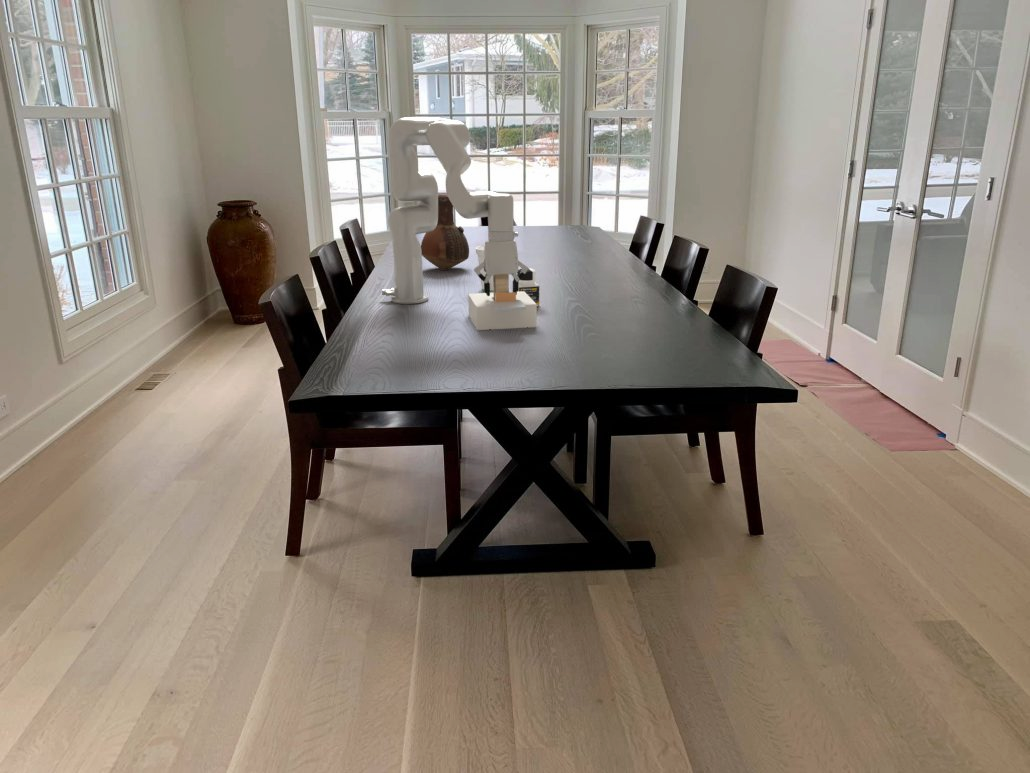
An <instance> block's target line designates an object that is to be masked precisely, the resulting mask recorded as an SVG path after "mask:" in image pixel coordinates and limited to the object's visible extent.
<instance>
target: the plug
mask: <svg viewBox="0 0 1030 773" xmlns="http://www.w3.org/2000/svg"><path fill="white" fill-rule="evenodd" d="M509 278H510V277H509V274H495V275H493V290H494V292H493V293H494V301H495V293H506V292H510V287H509V286H510V285H509V284H510V282H509V280H510V279H509Z"/></svg>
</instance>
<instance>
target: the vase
mask: <svg viewBox="0 0 1030 773" xmlns="http://www.w3.org/2000/svg"><path fill="white" fill-rule="evenodd" d="M464 232H465V230H464V228H463V227H462V226H461V225H459V226H456V225H455V219H454V207H453V205H452V203H451V202H450V200H449V198H448V196H447V194H438V223H437V226H436V228H435V229H434V230H433V231H431V232H427V233H424V236H423V237H422V240H421V243H420V245H421V250H422V258H423V259H425V260H426V261H428V262H429V263H431V264H432V265H433V266H435V267H437V268H438V269H439V270H442V271H448V270H449V269H452V268H453V267H455V266H458V265H460V264H461V263H463V262H465V261H467V259H469V256H470V246H469V242H468V239H467V237H466V235H465V234H464Z"/></svg>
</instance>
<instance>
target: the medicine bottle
mask: <svg viewBox="0 0 1030 773" xmlns="http://www.w3.org/2000/svg"><path fill="white" fill-rule="evenodd" d="M521 270H522V268H520V269H519V268H518V272H517V273H516V274H517V275H518V274H519V273H520V272H521ZM520 291H524V292H525V293H526V294H527V295H528V296H529V297H530V298H531V299H532V300H533V301H534V302H535V303H536V304H537V305H539V306H540V285H539V284H538V283H536V270H535V269H534V268H529V267H528V270H527V272H526V273H525V274H524V276H523V277H522V278H521V279H520V281H519V290H518V292H520Z"/></svg>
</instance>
